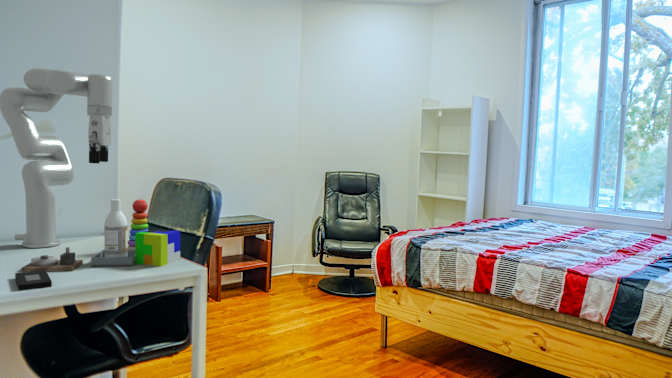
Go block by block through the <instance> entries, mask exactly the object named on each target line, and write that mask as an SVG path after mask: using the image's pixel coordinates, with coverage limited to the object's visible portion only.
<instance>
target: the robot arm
mask: <svg viewBox="0 0 672 378" xmlns="http://www.w3.org/2000/svg"><path fill="white" fill-rule="evenodd" d="M23 82H24V84H25V86H26V88H25V87H15V86H14V87H7V88H5V89H3V90H2V91H1V92H0V113H1V115H2V117H3V118H4V121H5V122H6V124H7V126H8V127H9V130H10V132H11V135H12V138H13V140H14V143H15V146H16V149H17V151H18V154H19V156H20V157H21V158H22V159H23V160H28V161H29V162H27V163H25V164H24V165H23V166H22V169H21V177H22V182H23V185H24V193H25V196H24V197H25V223H26V225H25V227H26V228H25V230H26V232H25V233H23V234H21V233H20V234H17V233H16V234H15V235H14V239H15V240H16V241H23V242H21V247H23V248H27V249H28V248H29V249H39V248H41V249H42V248H50V247H55V246H60V245H61V240H60V239H57V238H56V237H57V232H56V228H57V227H56V221H57V220H56V198H55V194H54V192H53V191H52V190H51V188H50V187H54V186H65V185H68V184H70V183H71V182H72V181H73V180H74V177H75V172H74V167H73V164H72V162H71V159H70V157H69V153H68V151H67V149H66V148H67V147H66V146H65V143H64V141H63V140H62V139H61V138H60V137H57V136H55V135H47V134H46V135H44V134H41V133H40V132H39V129H38V127H37V124H36V122H35V121H34V120H33V119H32V118H31V116H29V115H28V114H27V113H25V112H32V113H33V112H35V113H47V112H49V111H52V110H53V108H54V107H55V106H56V105H57V104H58V103H59V101H61V99H62V98H63V97H64V95H69V96H77V97H78V96H79V97H85V98H86V97H87V98H86V99H87V104H86V105H87V106H86V108H87V109H86V110H87V111H86V114H87V115H86V116H89V120H88V132H87V133H88V135H87V136H88V139H87V140H88V163H89V164H97V165H98V164H100V163H108V162H109V146H110V145H111V144H112V127H111V118H112V117H113V116H112V115H113V111H112V110H113V78H112V77H111V76H109V75H106V74H99V73H98V74H97V73H93V74H86V73H80V72H74V71H73V72H72V71H64V70H59V69H48V68H41V67H40V68H37V67H36V68H31V69H29V70H27V71H26V72H25V73H24V74H23Z"/></svg>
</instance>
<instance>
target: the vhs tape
mask: <svg viewBox="0 0 672 378" xmlns="http://www.w3.org/2000/svg"><path fill="white" fill-rule="evenodd" d="M14 277H15V282H16V286H17V290H18V291H19V292H21V291H29V290H36V289H44V288H52V284H53V283H52V279H51V277H50V275H49V273H48V271H46V270H41V271H31V272H22V271H21V272H16V273H14Z"/></svg>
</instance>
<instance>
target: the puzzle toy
mask: <svg viewBox="0 0 672 378" xmlns="http://www.w3.org/2000/svg"><path fill="white" fill-rule="evenodd" d="M148 230H149V231H144V232H139V233H135V264H137V265H138V264H139V265H147V266H154V267H164V266H167V265H170V264H172V263H176V262H180V261H181V231H180V230H172V229H171V230H170V229H161V228H154V229H148Z"/></svg>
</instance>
